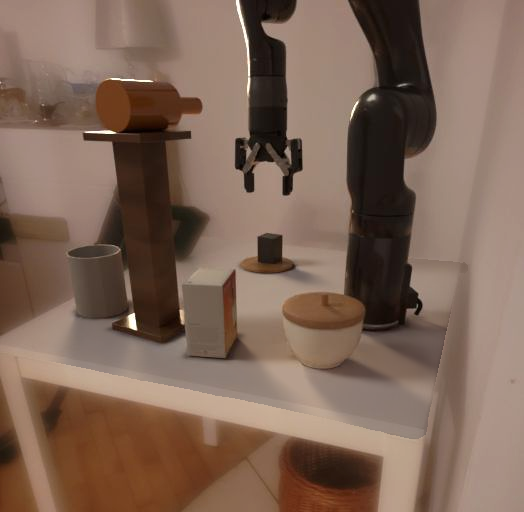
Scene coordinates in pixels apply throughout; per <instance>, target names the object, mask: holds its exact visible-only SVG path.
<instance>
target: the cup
mask: <svg viewBox="0 0 524 512" xmlns="http://www.w3.org/2000/svg"><path fill="white" fill-rule="evenodd" d="M65 254H66V260H67V265H68V270H69V276H70V281H71V286H72V292H73V297H74V303H75V308H76V312H77V314H78V315H79V316H81V317H82V318H88V319H102V318H104V319H105V318H109V317H114V316H118V315H120V314H122V313H124V312H126V311H127V309H128V308H129V301H128V295H127V286H126V280H125V272H124V271H125V270H124V264H123V257H122V249H121V248H120V247H119V246H116V245H112V244H89V245H83V246H77V247H75V248H71V249H69V250H68V251H67V252H66V253H65Z"/></svg>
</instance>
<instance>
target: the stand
mask: <svg viewBox="0 0 524 512" xmlns="http://www.w3.org/2000/svg"><path fill="white" fill-rule="evenodd" d="M82 139H83V141H85V142H103V143H104V142H105V143H106V142H108V143H111V144H112V152H113V160H114V168H115V176H116V183H117V191H118V198H119V199H118V200H119V207H120V214H121V223H122V230H123V237H124V243H125V244H124V245H125V252H126V260H127V261H126V262H127V268H128V276H129V282H130V284H129V285H130V291H131V300H132V307H133V313H131V314H129V315H127V316H124V317H123V318H120V319H118V320H116V321H114V322H111V329H112V330H113V331H118V332H121V333H125V334H128V335H132V336H136V337H140V338H142V339H146V340H150V341H153V342H157V343H160V344H163V343H165V342H166V341H168V340H170V339H172V338H174V337H175V336H178V335H179V334H180V333H182V332H185V321H184V309H181V308H180V298H179V297H180V296H179V286H178V275H177V274H178V273H177V263H176V262H177V261H176V250H175V237H174V226H173V214H172V213H173V212H172V203H171V201H172V200H171V191H170V179H169V168H168V167H169V166H168V157H167V156H168V155H167V143H166V142H169V141H170V142H171V141H181V140H182V141H183V140H192V131H191V130H175V129H174V130H173V129H170V130H156V131H139V132H121V133H114V132H111V131H109V130H99V131H82Z"/></svg>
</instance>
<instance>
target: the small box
mask: <svg viewBox="0 0 524 512" xmlns="http://www.w3.org/2000/svg"><path fill="white" fill-rule="evenodd" d="M181 294H182V307H183V310H184V321H185V330H184V332H185V344H186V354H187V356H189V357H203V358H205V357H206V358H216V359H217V358H219V359H226V358H227V355H228V354H229V351H230V349H231V348H232V346H233V344H234V343H235V340H236V339H237V337H238V310H237V309H238V307H237V270H236V268H225V267H207V266H206V267H205V266H204V267H203V266H199V267H197V268H196V270H195V271H194V272H193V273H192V274H191V276H189V277H188V278H187V280H185V281H184V282H183V283H181Z"/></svg>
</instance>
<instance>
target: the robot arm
mask: <svg viewBox="0 0 524 512" xmlns="http://www.w3.org/2000/svg"><path fill="white" fill-rule="evenodd" d="M235 3H236V8H237V13H238V17H239V20H240V24H241V27H242V31H243V36H244V40H245V41H244V42H245V45H246V52H247V75H248V76H247V77H248V78H247V91H246V92H247V96H246V98H247V99H246V100H247V130H248V133H249V135H248V138H246V137H236V138H235V140H234V168H235V170H237V171H238V170H239V171H241V173H243V188H244V191H245V192H246V193H248V194H252V193H255V172H254V170H255V169H256V167H257V166H258V165H259V164H260V163H265V162H267V163H275V165H276V166H277V167H278V168H279V169H280V170H281V172H282V174H283V175H282V178H281V179H282V180H281V181H282V184H281V186H282V189H281V191H282V192H281V193H282V194H281V195H282V196H283V197H287V196H290V195H291V193H293V191H294V175H295V174H297V173H299V172H302V171H303V169H304V165H303V163H304V162H303V140H302V139H301V138H298V137H297V138H292V139H288V137H287V131H288V101H289V99H288V84H287V46H286V44H285V42H284V41H283V40H281V39H279V38H276V37H272V36H270V35H268V34H267V33H266V31H265V29H264V27H263V24H271V25H272V24H273V25H282V24H283V25H284V24H286V23H287V22H289V21H290V20H291V19H292V18H293V16H294V15H295V12H296V10H297V5H298V0H235ZM347 3H348V5H349V7H350V9H351V12H352V14H353V16H354V18H355V20H356V22H357V24H358V26H359V28H360V30H361V32H362V33H363V36H364V38H365V40H366V41H367V44H368V46H369V48H370V51H371V54H372V57H373V60H374V65H375V71H376V77H377V84H378V85H377V86H373V87H370V88H368V89H367V90H365V91H364V92H362V93H361V95H360V96H358V98H357V100H356V101H355V103H354V105H353V106H352V109H351V112H350V116H349V120H348V126H347V138H346V178H345V180H346V181H345V182H346V189H347V192H348V195H349V199H350V203H349V204H350V205H349V215H348V230H347V231H348V232H347V243H346V244H347V245H346V256H345V257H346V258H345V271H344V272H345V273H344V283H343V284H344V285H343V295H346V296H350V297H353V298H355V299H357V300H359V301H360V302H361V303H362V304H363V305H364V306H365V317H364V320H363V328H362V330H371V331H383V330H390V329H394V328H396V327H398V326H404V325H405V323H406V318H407V310H414V309H415V311H414V312H413V315H415V316H419V315H420V314H421V312H422V310H423V307H424V305H423V301H422V300H421V299H420V298H419V292H418V291H416V290H415V289H414V288H413V287H412V286H411V280H412V275H413V266H412V264H411V263H409V255H410V248H411V240H412V234H413V232H412V231H413V225H414V217H415V211H416V205H417V194H416V192H415V190H414V189H412V188H410V187H409V186H408V185H407V184H406V181H405V161H406V160H408V159H413V158H415V157H418V156H420V155H422V153H423V152H425V151H426V150H427V148H428V147H429V146H430V144H431V142H432V141H433V139H434V136H435V134H436V128H437V121H438V113H437V104H436V99H435V94H434V89H433V84H432V83H433V82H432V79H431V74H430V69H429V64H428V59H427V55H426V49H425V43H424V37H423V36H424V35H423V28H422V16H421V8H420V7H421V6H420V0H347ZM287 148H288V150H289V151H290V158H289V156H288V155H287V152H285V151H286V150H287ZM248 149H249V150H250V151H251V152H250V153H249V155H248V157H247V150H248ZM405 159H406V160H405Z"/></svg>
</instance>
